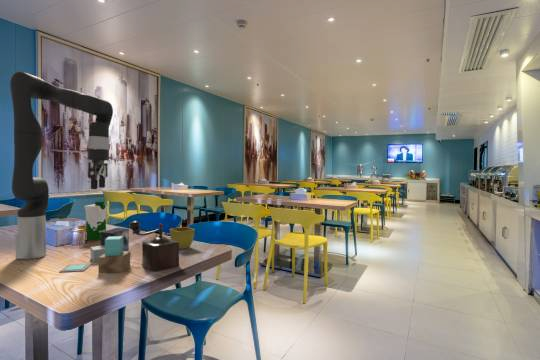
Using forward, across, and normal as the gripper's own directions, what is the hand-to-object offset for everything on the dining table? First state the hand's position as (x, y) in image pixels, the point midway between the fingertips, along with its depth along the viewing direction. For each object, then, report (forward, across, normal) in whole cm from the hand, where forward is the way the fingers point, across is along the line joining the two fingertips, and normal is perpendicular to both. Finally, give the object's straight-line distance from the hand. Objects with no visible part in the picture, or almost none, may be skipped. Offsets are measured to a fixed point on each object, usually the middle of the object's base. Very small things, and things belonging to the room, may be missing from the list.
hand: (98, 188), depth 123 cm
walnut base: (+29, +14, +11) cm, 34 cm away
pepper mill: (+29, +13, +24) cm, 40 cm away
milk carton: (+30, -39, -14) cm, 51 cm away
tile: (+29, +10, -4) cm, 31 cm away
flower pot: (+29, -15, +32) cm, 46 cm away
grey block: (+27, +2, +2) cm, 27 cm away
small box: (+30, -9, +4) cm, 31 cm away
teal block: (+23, +14, +10) cm, 29 cm away
